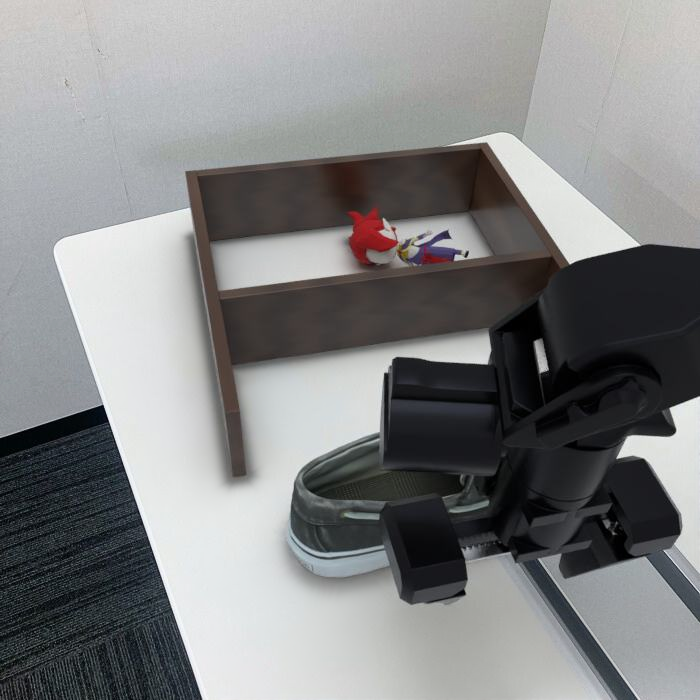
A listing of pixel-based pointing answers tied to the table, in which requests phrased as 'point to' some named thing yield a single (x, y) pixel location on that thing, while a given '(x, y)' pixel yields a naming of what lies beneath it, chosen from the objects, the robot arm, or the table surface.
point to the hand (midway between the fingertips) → (504, 585)
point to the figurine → (395, 243)
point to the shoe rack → (368, 287)
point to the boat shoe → (361, 507)
